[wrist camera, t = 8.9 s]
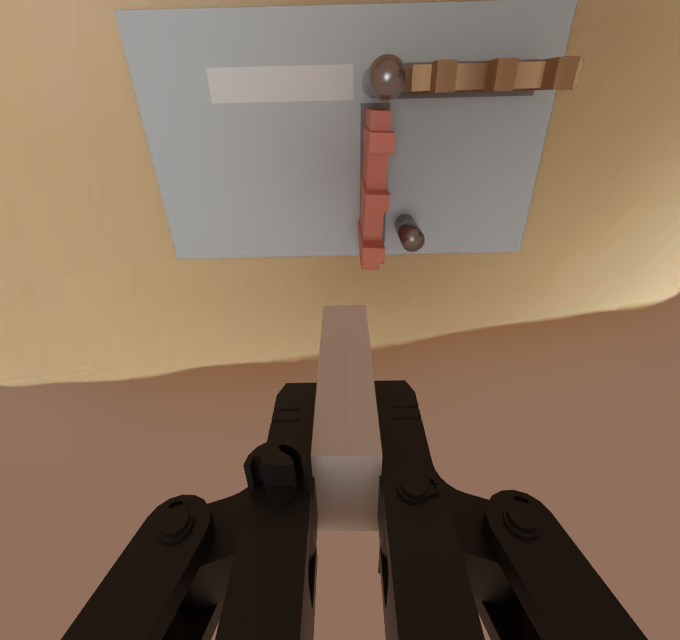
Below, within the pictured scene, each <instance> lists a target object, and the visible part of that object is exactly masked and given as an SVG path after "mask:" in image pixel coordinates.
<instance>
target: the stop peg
mask: <svg viewBox="0 0 680 640" xmlns="http://www.w3.org/2000/svg"><path fill="white" fill-rule="evenodd" d="M394 227H395V230H396V232H397V234H398V237H399V239H400V241H401V244H402V246H403V248H404V249H405V250H407V251H409V252H415V251H418V250H419V249H421V248H422V246H423V245H424V242H425V238H424V235H423V233H422V232H421V230H420V228H419V227H418V225H417V223H416V222H415V220H414V218H413V217H412V216H411V215H409V214H402V215H400V216H398V217H397V218H396V220H395V223H394Z"/></svg>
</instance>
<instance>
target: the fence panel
mask: <svg viewBox="0 0 680 640" xmlns="http://www.w3.org/2000/svg"><path fill="white" fill-rule="evenodd" d="M392 112H393V111H391V110H387V109H384V108H366V112H365V125H363V143H364V149H363V168H362V175H361V179H360V191H361V205H360V219H358V237H359V242H358V245H359V253H360V260H361V268H362V269H379V265H380V263H384V257H385V246H384V243H383V239H382V230H383V218H384V212H389V202H390V194H389V192H388V190H387V188H386V183H387V171H388V159H389V153H394V148H395V137H396V133H395V132H393V131H392V130H391V124H392Z"/></svg>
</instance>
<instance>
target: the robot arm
mask: <svg viewBox="0 0 680 640" xmlns="http://www.w3.org/2000/svg"><path fill="white" fill-rule="evenodd" d="M243 466H244V470H245V474H246V479H247V483H248V487H247V488H246V489H244V490H243V491H241V492H240V493H238V494H235V495H233V496H231V497H228V498H225V499H222V500H218V501H215V502H212V503H209V504H207V503H206V502H205V500H204V499H202V498H200V497H197V496H195V495H180V496H177V497H174V498H170V499H169V500H167V501H165V502H164V503H162V504H161V505H159V506H158V507H157V508H156V509H155V510H154V511H153V512H152V513H151V514H150V515H149V516H148V517H147V519H146V520H145V522H144V523H143V524H142V526H141V527H140V528H139V530H138V531H137V533H136V534H135V536H134V537H133V538H132V540H131V541H130V543H129V544H128V545H127V547H126V548H125V550H124V551H123V553H122V554H121V555H120V557H119V558H118V560H117V561H116V562H115V564H114V565H113V567H112V568H111V569H110V571H109V572H108V574H107V575H106V576H105V578H104V579H103V581H102V582H101V584H100V585H99V586H98V588H97V589H96V591H95V592H94V593H93V595H92V596H91V598H90V599H89V601H88V602H87V603H86V605H85V606H84V608H83V609H82V610H81V612H80V613H79V615H78V616H77V618H76V619H75V620H74V622H73V623H72V624H71V626H70V627H69V629H68V630H67V632H66V633H65V635H64V636H63V637H62V639H61V640H211V638H212V636H213V634H214V631H215V629H216V626H217V624H218V622H219V625H218V629H217V634H216V638H215V640H313V635H314V615H315V594H316V574H317V547H316V540H317V531H378V529H379V538H380V551H379V568H378V573H381V584H382V598H383V610H384V623H385V635H386V640H485V638H484V634H483V630H482V627H481V623H480V619H479V615H480V617H481V619H482V622H483V624H484V626H485V628H486V630H487V632H488V635H489V637H490V639H491V640H648V639H647V638H646V637H645V635H644V634H643V633H642V631H641V630H640V629H639V627H638V626H637V625H636V623H635V622H634V621H633V620H632V618H631V617H630V616H629V614H628V613H627V612H626V610H625V609H624V608H623V606H622V605H621V604H620V603H619V601H618V600H617V598H616V597H615V596H614V595H613V593H612V592H611V591H610V589H609V588H608V587H607V585H606V584H605V583H604V581H603V580H602V579H601V577H600V576H599V575H598V573H597V572H596V571H595V569H594V568H593V567H592V566H591V564H590V563H589V562H588V560H587V559H586V558H585V556H584V555H583V554H582V552H581V551H580V550H579V549H578V547H577V546H576V545H575V543H574V542H573V541H572V539H571V538H570V537H569V535H568V534H567V533H566V531H565V530H564V529H563V528H562V526H561V525H560V523H559V522H558V521H557V520H556V518H555V517H554V516H553V514H552V513H551V512H550V511H549V510H548V509H547V508H546V507H545V506H544V505H543V504H542V503H541V502H540V501H538V500H537V499H535V498H533V497H532V496H530V495H528V494H526V493H523V492H519V491H515V490H505V491H500V492H498V493H496V494H494V495H492V497H491V498H490V500H488V499H484V498H481V497H477V496H474V495H470V494H467V493H464V492H461V491H459V490H456V489H455V488H453V487H451V486H450V485H448V484H447V483H446V482H445V481H444V480H443V479H442V478H440V476H439V475H438V473H437V472H436V471H435V468H434V466H433V463H432V459H431V456H430V451H429V448H428V443H427V439H426V435H425V431H424V427H423V423H422V420H421V415H420V411H419V409H418V402H417V399H416V394H415V392H414V390H413V389H412V388H411V387H410V386H409V385H408V383H407V382H406V381H405V380H402V381H374V377H373V369H372V361H371V350H370V342H369V333H368V324H367V315H366V306H365V305H347V306H323V318H322V330H321V341H320V353H319V365H318V378H317V383H286V384H285V386H284V387H283V388H282V390H281V391H280V392H279V393H278V395H277V397H276V402H275V407H274V412H273V416H272V423H271V425H270V430H269V435H268V440H267V442H266V443H264V444H262V445H260V446H258V447H257V448H256V449H255V450H253V451H252V453H250V454H249V455H248V457H247V459H246V461H245V463H244V465H243ZM478 613H479V615H478ZM219 620H220V621H219Z"/></svg>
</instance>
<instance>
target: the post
mask: <svg viewBox="0 0 680 640" xmlns="http://www.w3.org/2000/svg"><path fill="white" fill-rule="evenodd" d="M406 80H407V71H406V67H405V65H404V63H403V61H402V60H401V59H400V58H399V57H397V56H396V55H393V54H383V55H381V56H379V57H377V58H376V59H375V60H374V61H373V62H372V64H371V65H370V67H369V68H368V69H367V70H366V72H365V73H364V76H363V79H362V85H363V89H364V91H365V93H366V94H367V95H368V96H370V97H373V98H378V99H380V100H384V101H387V100H392V99H394V98H396V97H397V96H398V95H399V94H400V93H401V92H402V90H403V89H404V87H405V84H406Z"/></svg>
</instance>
